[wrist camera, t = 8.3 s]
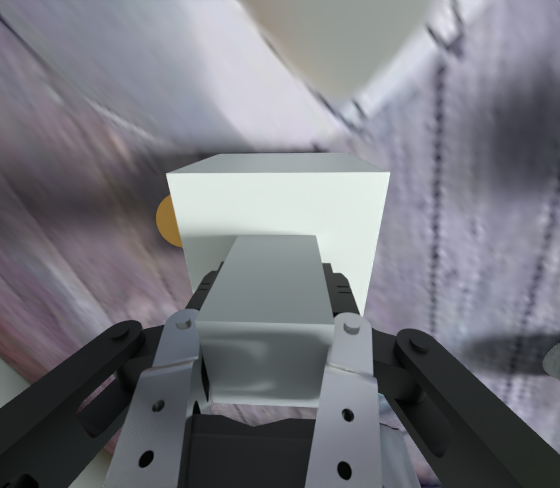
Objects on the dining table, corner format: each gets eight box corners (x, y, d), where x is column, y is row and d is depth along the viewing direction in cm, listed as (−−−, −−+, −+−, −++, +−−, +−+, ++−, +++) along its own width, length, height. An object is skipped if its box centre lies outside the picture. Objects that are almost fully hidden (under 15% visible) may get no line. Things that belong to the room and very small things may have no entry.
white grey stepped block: (348, 152, 18) (495, 221, 5) (336, 264, 23) (395, 455, 10) (219, 153, 19) (41, 218, 5) (232, 262, 23) (153, 441, 10)
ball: (220, 184, 21) (201, 199, 17) (227, 234, 24) (211, 258, 19) (167, 184, 22) (134, 199, 17) (179, 233, 24) (152, 258, 19)
